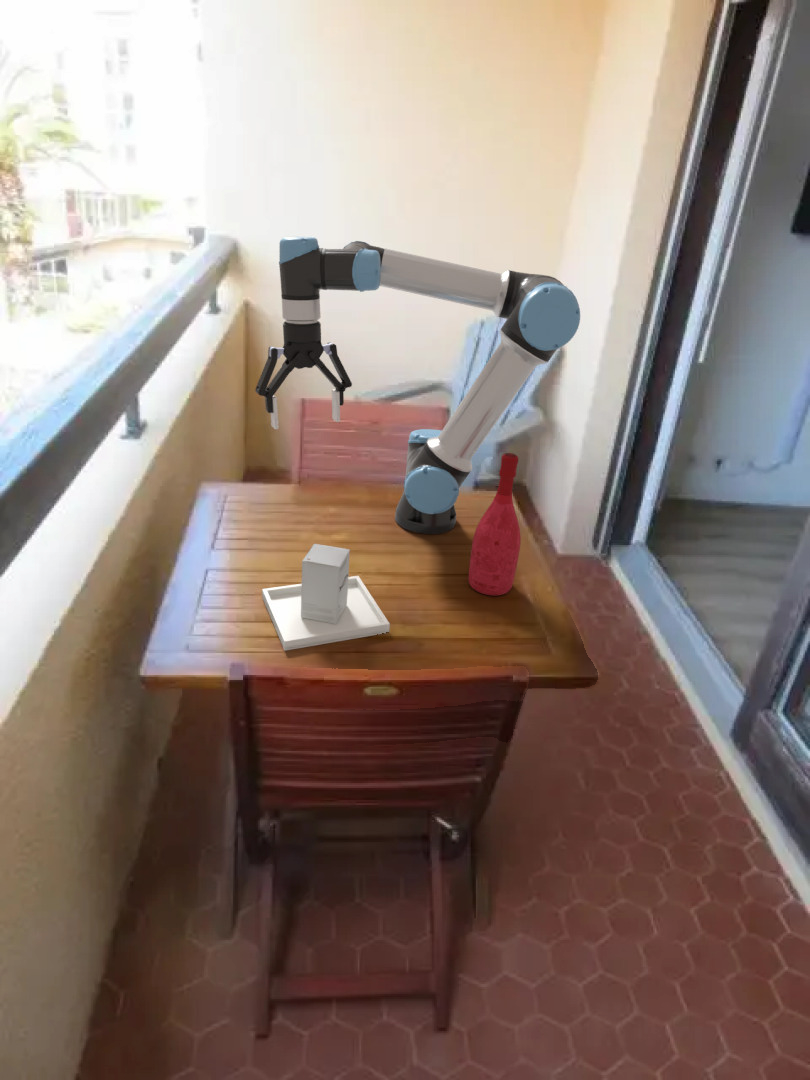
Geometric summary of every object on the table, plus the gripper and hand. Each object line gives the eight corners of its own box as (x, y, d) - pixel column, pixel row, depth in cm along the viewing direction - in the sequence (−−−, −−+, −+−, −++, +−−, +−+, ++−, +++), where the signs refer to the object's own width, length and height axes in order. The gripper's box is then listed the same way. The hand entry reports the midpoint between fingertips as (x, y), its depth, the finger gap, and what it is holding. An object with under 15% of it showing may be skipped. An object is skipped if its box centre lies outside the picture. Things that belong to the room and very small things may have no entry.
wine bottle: (516, 580, 156) (540, 451, 142) (507, 602, 148) (531, 467, 134) (473, 570, 158) (491, 441, 144) (461, 591, 150) (480, 457, 136)
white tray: (357, 583, 149) (358, 575, 148) (389, 632, 135) (389, 623, 134) (262, 597, 142) (262, 589, 141) (284, 650, 127) (284, 641, 127)
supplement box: (337, 625, 135) (339, 567, 129) (299, 618, 136) (300, 560, 130) (348, 604, 141) (351, 548, 135) (312, 598, 142) (313, 542, 136)
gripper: (352, 315, 151) (354, 413, 160) (235, 321, 141) (243, 425, 150) (366, 320, 145) (367, 422, 154) (244, 326, 135) (253, 435, 144)
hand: (306, 424), depth 152 cm, fingers open, 13 cm apart
